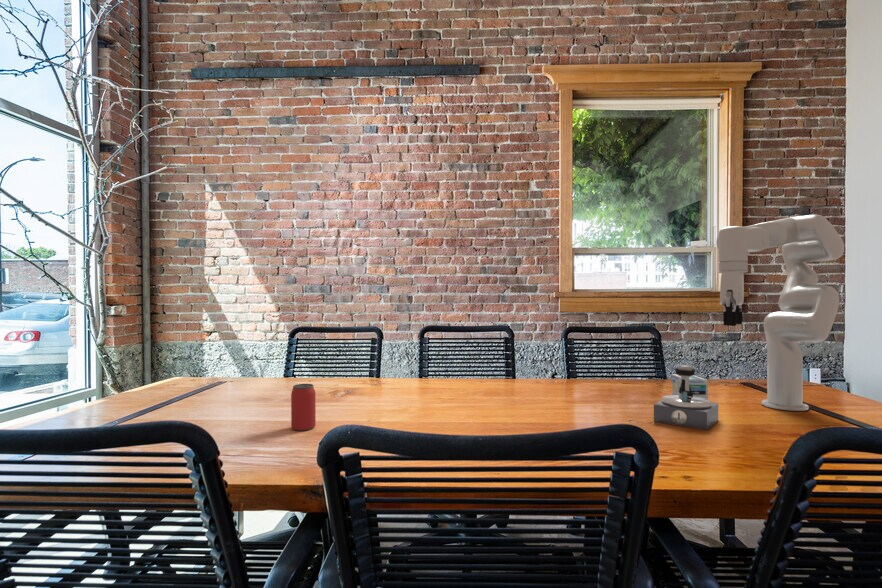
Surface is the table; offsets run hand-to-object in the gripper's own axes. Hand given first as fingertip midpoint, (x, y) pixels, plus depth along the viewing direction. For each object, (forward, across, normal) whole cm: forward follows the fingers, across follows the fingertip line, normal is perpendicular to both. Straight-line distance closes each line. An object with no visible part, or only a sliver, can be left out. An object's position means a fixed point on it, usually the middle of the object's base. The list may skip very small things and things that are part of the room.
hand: (733, 324), depth 142 cm
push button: (+22, +13, -10) cm, 27 cm away
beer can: (+28, +91, -89) cm, 130 cm away
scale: (+28, +12, -10) cm, 32 cm away
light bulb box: (+29, -4, -13) cm, 32 cm away
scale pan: (+23, +12, -10) cm, 28 cm away
